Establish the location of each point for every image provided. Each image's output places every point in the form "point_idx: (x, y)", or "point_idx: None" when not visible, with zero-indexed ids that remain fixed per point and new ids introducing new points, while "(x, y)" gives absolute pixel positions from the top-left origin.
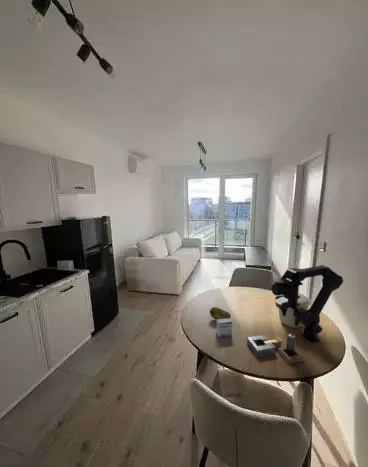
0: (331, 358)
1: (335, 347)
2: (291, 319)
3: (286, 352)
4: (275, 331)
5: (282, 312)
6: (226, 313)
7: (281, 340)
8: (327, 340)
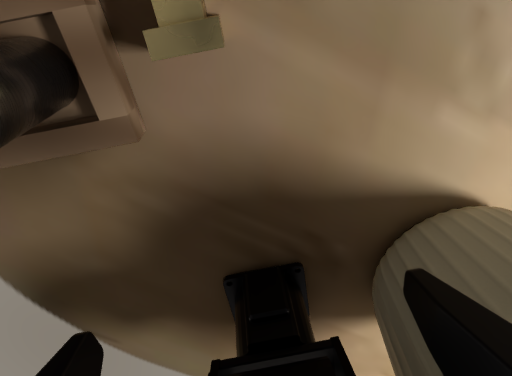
0: (89, 314)
1: (187, 360)
2: None
3: (17, 38)
4: (387, 101)
5: (479, 323)
6: None
7: (158, 57)
8: None
